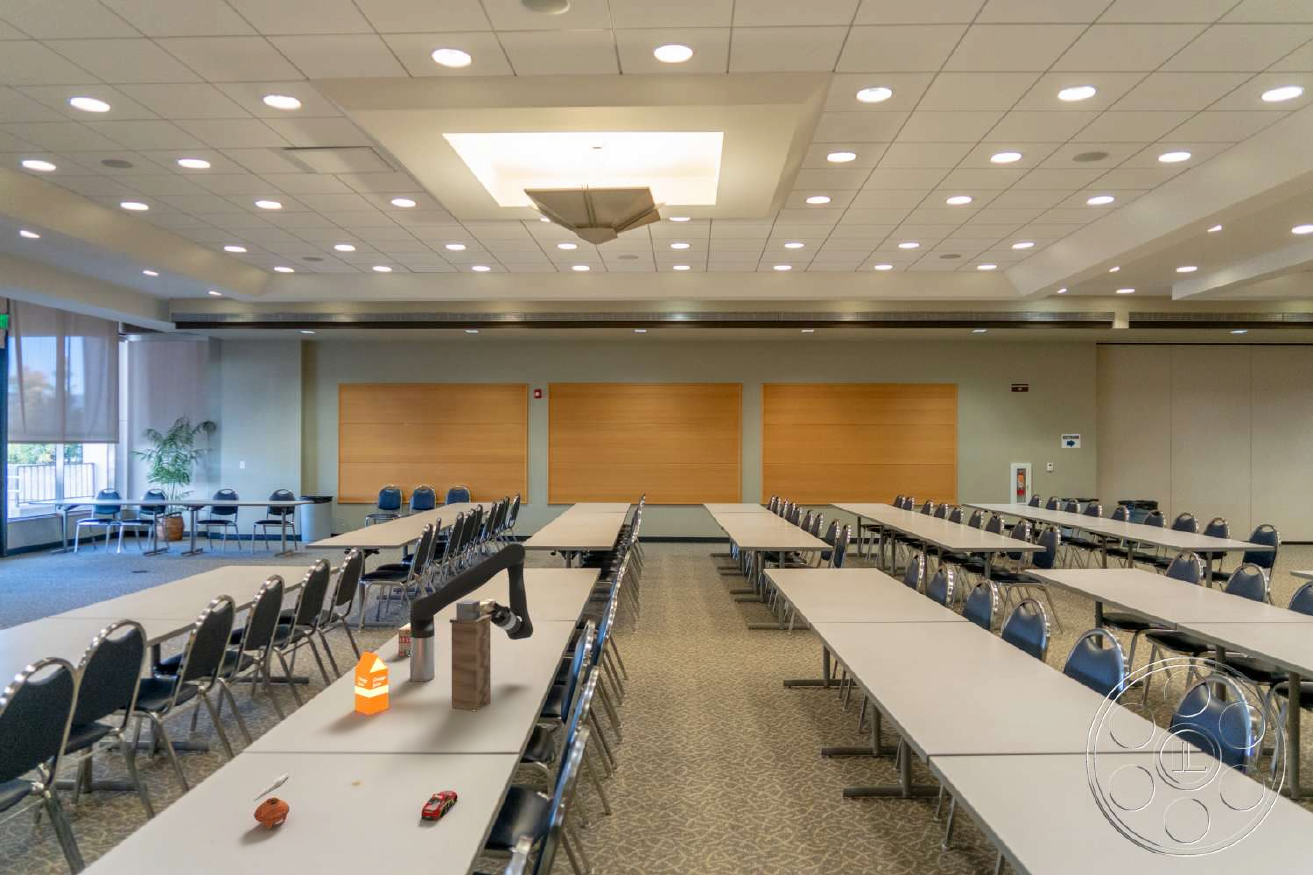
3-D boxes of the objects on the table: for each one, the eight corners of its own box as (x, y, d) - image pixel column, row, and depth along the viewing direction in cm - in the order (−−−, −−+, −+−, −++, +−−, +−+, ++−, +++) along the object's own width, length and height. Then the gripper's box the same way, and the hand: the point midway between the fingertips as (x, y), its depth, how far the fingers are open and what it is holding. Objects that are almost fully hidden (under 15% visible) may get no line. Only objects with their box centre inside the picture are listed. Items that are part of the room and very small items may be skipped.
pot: (282, 811, 197) (285, 787, 196) (291, 829, 191) (294, 805, 190) (248, 821, 191) (251, 796, 190) (257, 840, 186) (260, 815, 185)
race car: (442, 797, 206) (442, 782, 206) (460, 799, 205) (460, 784, 205) (417, 820, 193) (417, 805, 193) (436, 823, 192) (437, 807, 192)
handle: (485, 608, 292) (485, 592, 292) (499, 609, 291) (499, 593, 291) (456, 619, 273) (456, 602, 273) (471, 620, 272) (471, 603, 272)
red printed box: (417, 643, 363) (417, 617, 363) (429, 643, 362) (429, 617, 362) (398, 656, 341) (398, 628, 341) (411, 656, 341) (411, 628, 341)
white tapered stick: (284, 775, 219) (284, 769, 218) (293, 776, 218) (293, 770, 218) (249, 802, 204) (249, 796, 204) (258, 803, 203) (258, 796, 203)
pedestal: (466, 698, 284) (466, 612, 284) (492, 701, 281) (492, 614, 281) (449, 708, 273) (449, 619, 274) (476, 711, 270) (476, 621, 270)
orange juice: (373, 703, 279) (373, 648, 279) (388, 708, 274) (388, 652, 274) (354, 709, 273) (354, 653, 273) (369, 714, 268) (369, 657, 268)
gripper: (489, 607, 303) (470, 593, 290) (521, 609, 299) (503, 595, 286) (484, 625, 300) (465, 612, 287) (517, 628, 296) (499, 615, 282)
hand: (484, 604), depth 286 cm, fingers open, 8 cm apart
